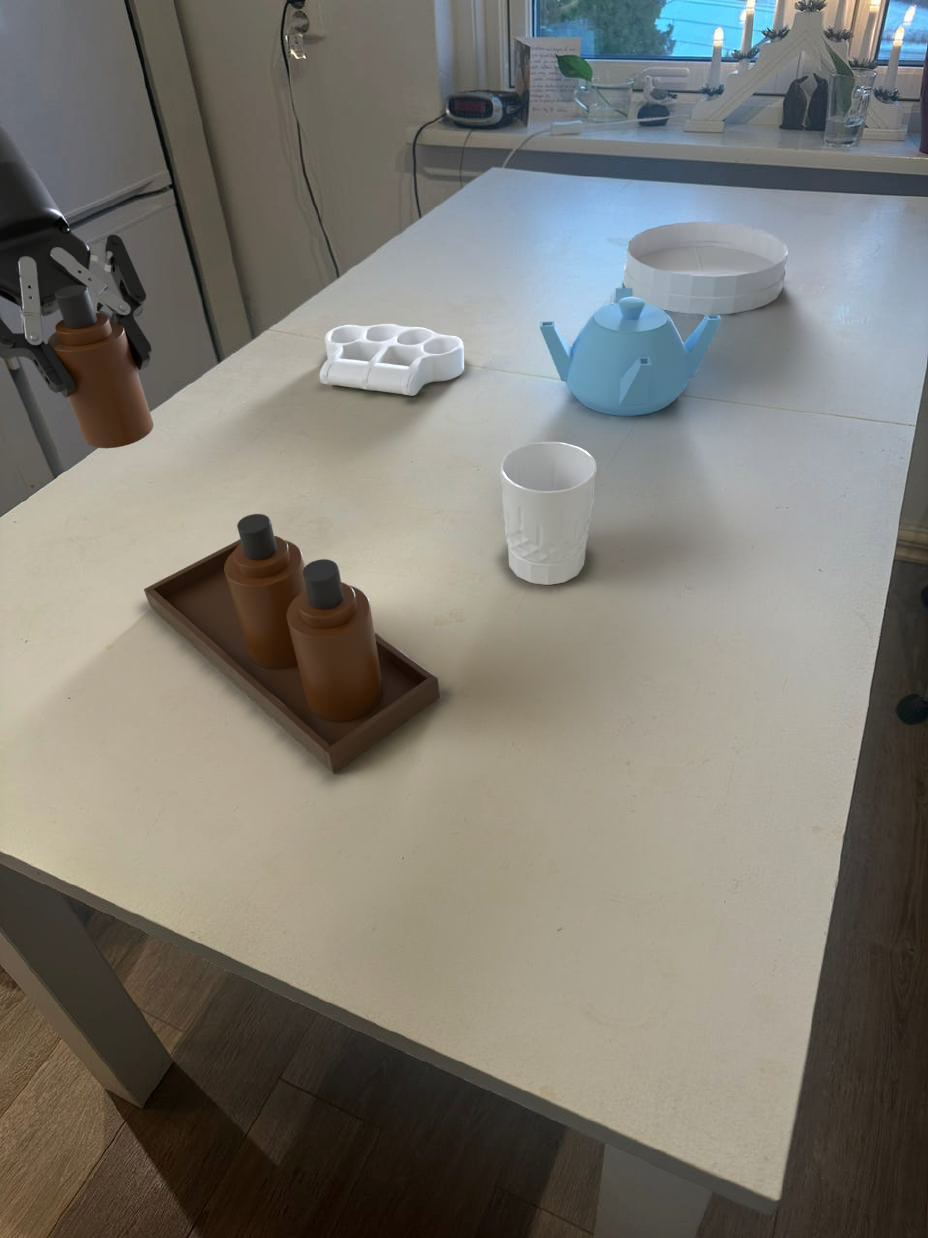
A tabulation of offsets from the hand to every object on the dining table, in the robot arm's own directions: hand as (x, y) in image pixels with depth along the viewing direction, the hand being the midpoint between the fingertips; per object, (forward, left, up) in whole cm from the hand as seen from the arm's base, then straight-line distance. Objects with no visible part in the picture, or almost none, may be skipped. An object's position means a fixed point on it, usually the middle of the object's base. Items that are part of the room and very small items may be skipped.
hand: (108, 377), depth 70 cm
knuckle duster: (+32, +26, -18) cm, 45 cm away
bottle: (-1, +2, -5) cm, 6 cm away
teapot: (+54, +7, -18) cm, 57 cm away
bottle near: (+9, -25, -17) cm, 32 cm away
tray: (+7, -18, -18) cm, 26 cm away
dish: (+81, +30, -18) cm, 88 cm away
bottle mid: (+7, -18, -17) cm, 25 cm away
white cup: (+31, -17, -18) cm, 40 cm away
